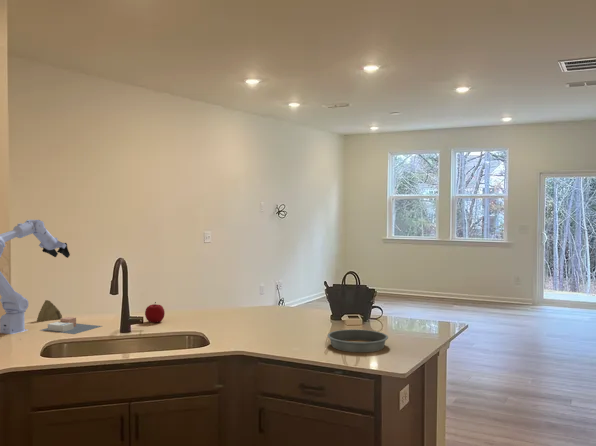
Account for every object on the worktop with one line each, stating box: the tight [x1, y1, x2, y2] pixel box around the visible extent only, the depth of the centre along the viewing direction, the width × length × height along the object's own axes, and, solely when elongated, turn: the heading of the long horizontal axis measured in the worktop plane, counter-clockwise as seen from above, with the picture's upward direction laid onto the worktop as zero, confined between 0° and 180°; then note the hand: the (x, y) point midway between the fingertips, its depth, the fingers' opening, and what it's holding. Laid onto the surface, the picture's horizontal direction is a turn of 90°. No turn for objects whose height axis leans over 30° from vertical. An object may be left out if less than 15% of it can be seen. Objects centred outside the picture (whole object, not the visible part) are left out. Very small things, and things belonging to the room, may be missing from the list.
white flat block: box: [47, 321, 73, 332], centre depth 252 cm, size 6×9×3 cm, turn 69°
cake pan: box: [327, 328, 389, 353], centre depth 228 cm, size 25×25×4 cm
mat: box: [40, 323, 103, 335], centre depth 255 cm, size 18×20×1 cm
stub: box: [59, 316, 77, 327], centre depth 258 cm, size 4×5×4 cm
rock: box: [36, 299, 63, 322], centre depth 274 cm, size 11×9×10 cm
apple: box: [144, 301, 165, 324], centre depth 273 cm, size 9×9×10 cm
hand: (62, 255), depth 273 cm, fingers open, 7 cm apart
